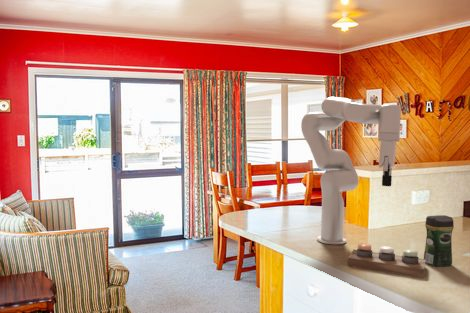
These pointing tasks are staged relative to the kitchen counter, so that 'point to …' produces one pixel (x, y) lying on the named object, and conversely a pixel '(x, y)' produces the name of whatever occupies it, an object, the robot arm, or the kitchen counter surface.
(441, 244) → the coffee jar
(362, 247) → the terracotta button
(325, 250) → the kitchen counter surface
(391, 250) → the white button
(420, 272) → the button board
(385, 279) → the kitchen counter surface
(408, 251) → the sage button
